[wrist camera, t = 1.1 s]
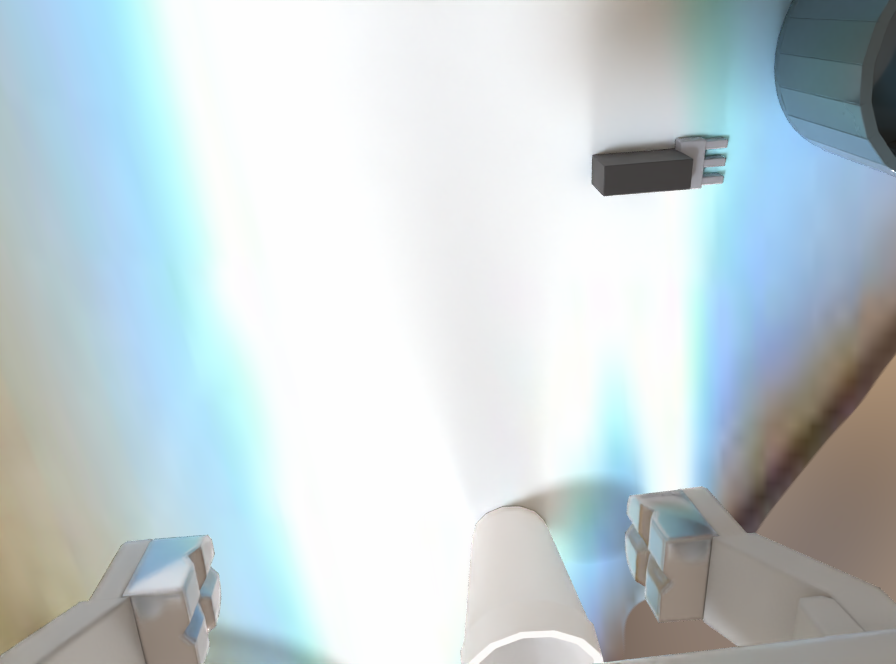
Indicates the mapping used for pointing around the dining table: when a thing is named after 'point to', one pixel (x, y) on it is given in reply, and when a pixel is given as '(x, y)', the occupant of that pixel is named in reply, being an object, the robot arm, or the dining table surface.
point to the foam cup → (522, 597)
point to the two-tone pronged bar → (658, 168)
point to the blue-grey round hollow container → (841, 77)
